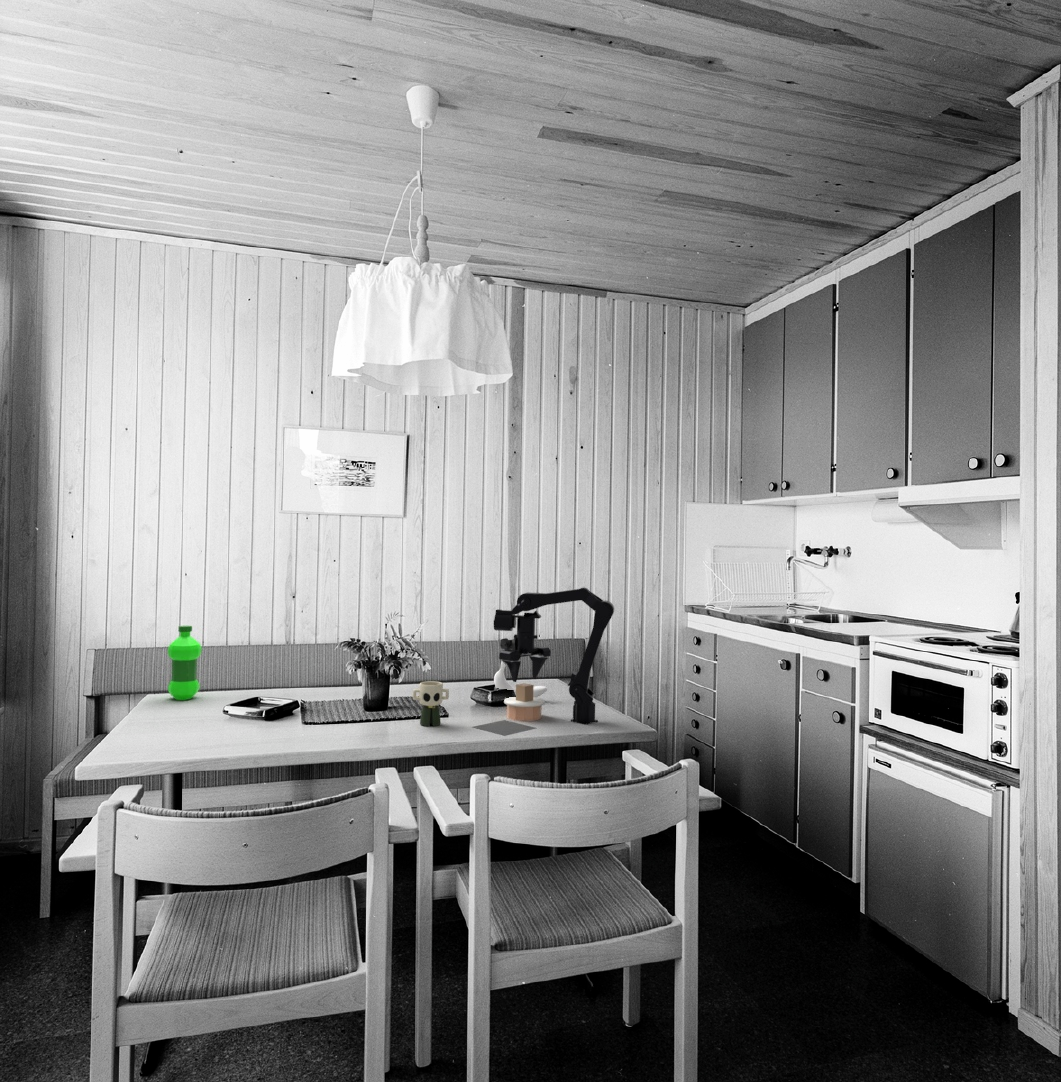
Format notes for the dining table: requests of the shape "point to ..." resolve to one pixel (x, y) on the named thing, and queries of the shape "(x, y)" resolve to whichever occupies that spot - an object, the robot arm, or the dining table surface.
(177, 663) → the plastic bottle
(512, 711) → the faceted tan prism
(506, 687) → the banana
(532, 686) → the lid
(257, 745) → the dining table surface
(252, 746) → the dining table surface
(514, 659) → the robot arm
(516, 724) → the mat
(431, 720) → the character mug
